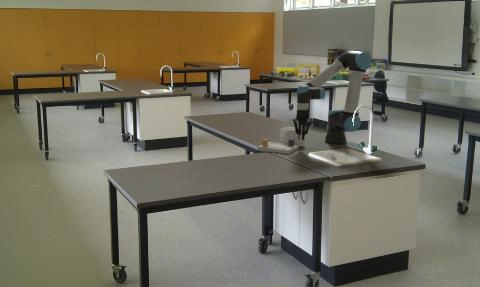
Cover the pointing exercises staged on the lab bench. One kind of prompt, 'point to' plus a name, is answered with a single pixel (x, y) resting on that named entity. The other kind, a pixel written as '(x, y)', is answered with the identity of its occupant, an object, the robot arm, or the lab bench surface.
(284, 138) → the cable organizer
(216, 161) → the lab bench surface
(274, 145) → the mixing board
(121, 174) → the lab bench surface
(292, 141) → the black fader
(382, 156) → the lab bench surface
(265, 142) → the orange fader
